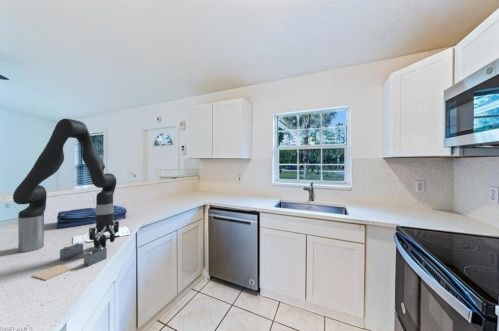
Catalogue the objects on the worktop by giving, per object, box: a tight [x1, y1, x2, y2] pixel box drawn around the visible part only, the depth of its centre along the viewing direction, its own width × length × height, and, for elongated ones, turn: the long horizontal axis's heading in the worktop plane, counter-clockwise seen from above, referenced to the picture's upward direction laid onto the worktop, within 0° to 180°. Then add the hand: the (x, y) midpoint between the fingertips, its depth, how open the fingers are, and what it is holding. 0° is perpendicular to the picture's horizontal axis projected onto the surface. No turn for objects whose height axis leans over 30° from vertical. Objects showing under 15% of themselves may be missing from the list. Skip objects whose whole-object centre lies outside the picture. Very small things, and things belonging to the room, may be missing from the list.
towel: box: [55, 205, 128, 230], centre depth 160 cm, size 24×43×10 cm, turn 134°
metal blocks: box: [59, 243, 108, 267], centre depth 95 cm, size 19×8×6 cm, turn 72°
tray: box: [72, 226, 131, 245], centre depth 127 cm, size 20×28×4 cm
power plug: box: [99, 234, 108, 248], centre depth 107 cm, size 6×8×12 cm
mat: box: [31, 264, 74, 281], centre depth 83 cm, size 9×9×1 cm
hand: (104, 244), depth 104 cm, fingers open, 7 cm apart
